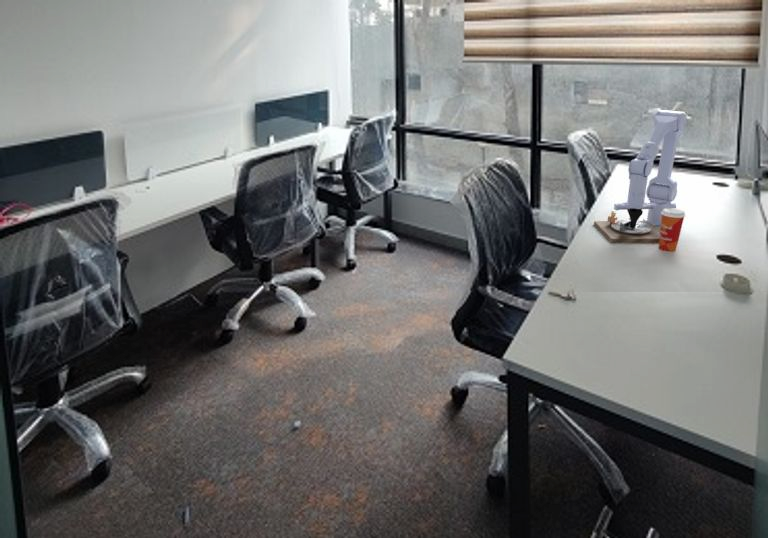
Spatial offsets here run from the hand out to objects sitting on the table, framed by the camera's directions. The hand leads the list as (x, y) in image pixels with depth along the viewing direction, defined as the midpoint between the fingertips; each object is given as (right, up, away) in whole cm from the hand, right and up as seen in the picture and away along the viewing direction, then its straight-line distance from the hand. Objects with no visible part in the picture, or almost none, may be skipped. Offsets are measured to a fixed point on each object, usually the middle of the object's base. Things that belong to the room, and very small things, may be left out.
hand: (632, 228), depth 227 cm
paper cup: (+8, -8, -10) cm, 16 cm away
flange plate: (0, 0, +5) cm, 5 cm away
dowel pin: (-3, +2, +11) cm, 12 cm away
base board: (+1, -2, +5) cm, 6 cm away
